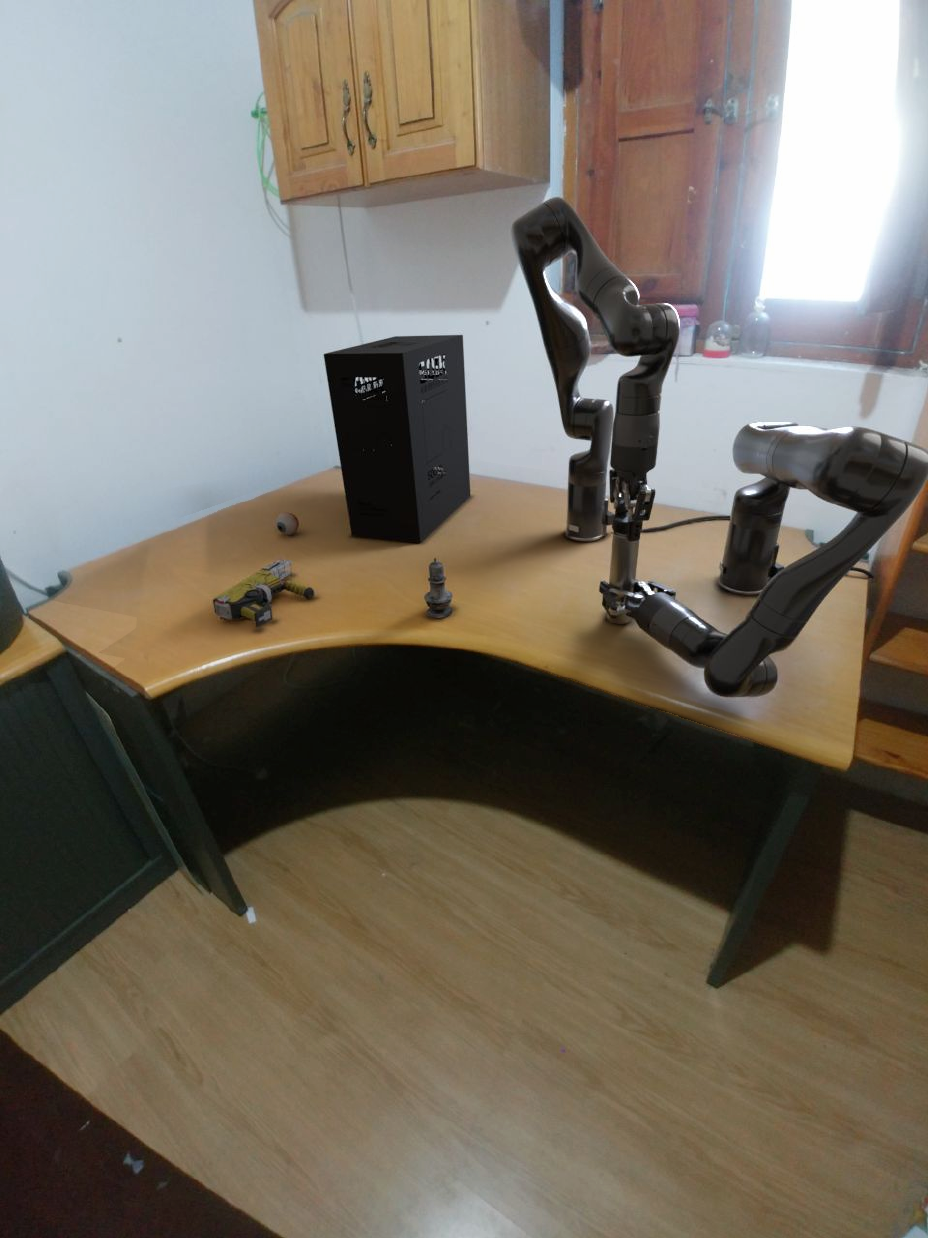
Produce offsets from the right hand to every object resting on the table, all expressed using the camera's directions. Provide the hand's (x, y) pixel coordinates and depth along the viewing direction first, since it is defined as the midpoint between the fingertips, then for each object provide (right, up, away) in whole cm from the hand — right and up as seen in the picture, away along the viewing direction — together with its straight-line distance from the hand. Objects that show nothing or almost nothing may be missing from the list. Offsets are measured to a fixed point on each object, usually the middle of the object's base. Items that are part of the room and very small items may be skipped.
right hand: (613, 582), depth 116 cm
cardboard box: (-43, +23, +57) cm, 75 cm away
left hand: (0, +8, -8) cm, 11 cm away
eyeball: (-77, +16, +49) cm, 92 cm away
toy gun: (-69, -3, +15) cm, 71 cm away
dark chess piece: (-34, -6, +7) cm, 35 cm away
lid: (0, +11, -9) cm, 14 cm away
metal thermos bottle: (+1, -7, +1) cm, 7 cm away
